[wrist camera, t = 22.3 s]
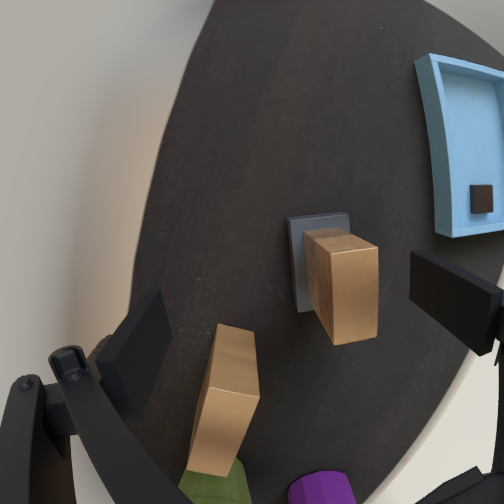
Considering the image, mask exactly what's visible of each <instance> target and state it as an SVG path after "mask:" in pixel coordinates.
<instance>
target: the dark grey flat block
mask: <svg viewBox="0 0 504 504" xmlns="http://www.w3.org/2000/svg"><path fill="white" fill-rule="evenodd" d="M470 206H471V213H473V214H482V213H492V212H493V185H490V184H476V185H470Z"/></svg>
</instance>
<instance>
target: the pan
mask: <svg viewBox="0 0 504 504" xmlns="http://www.w3.org/2000/svg"><path fill="white" fill-rule="evenodd" d="M414 64H415V68H416V73H417V77H418V82H419V86H420V91H421V96H422V101H423V107H424V112H425V118H426V125H427V132H428V139H429V147H430V155H431V165H432V176H433V190H434V211H435V233H439V234H442V235H445V236H448V237H451V238H454V237H461V236H468V235H474V234H481V233H487V232H494V231H500V230H504V72H501V71H498V70H495V69H491V68H488V67H485V66H481V65H478V64H474V63H470V62H466V61H463V60H458V59H454V58H450V57H445V56H441V55H436V54H431V53H429V54H427V55H425V56H424V57H422V58H420V59H419V60H417V61H415V62H414ZM476 184H490V185H493V212H492V213H482V214H473V213H471V206H470V185H476Z"/></svg>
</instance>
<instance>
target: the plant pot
mask: <svg viewBox="0 0 504 504" xmlns="http://www.w3.org/2000/svg"><path fill="white" fill-rule="evenodd" d="M186 468H187V466H186ZM178 488H179V489H180V490H181V491H182V492H183V493H184V494H185V495H186V496H187V497H188V498H189V499H190V500H191V501H192V502H193V503H194V504H252V501H251V497H250V493H249V489H248V484H247V480H246V475H245V471H244V467H243V464H242V463H241V462H240V460H239V459H237V458H236V457H235V460H234V462H233V464H232V467H231V469H230V471H229V473H228V476H227V477H221V476H215V475H210V474H205V473H199V472H194V471H190V470H187V469H185V471H184V473H183V476H182V478H181V481H180V483H179V485H178Z"/></svg>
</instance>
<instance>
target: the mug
mask: <svg viewBox="0 0 504 504" xmlns="http://www.w3.org/2000/svg"><path fill="white" fill-rule="evenodd" d="M287 496H288V503H289V504H356V501H355V498H354V495H353V492H352V489H351V486H350V483H349V481H348V479H347V476H346V474H344V473H341V472H338V471H335V470H330V471H317V472H314V473H311V474H308V475H305V476H302V477H301V478H300V479H298V480H297V481H295V482H294V483H292V484H291V485H290V488H289V490H288V492H287Z"/></svg>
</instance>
